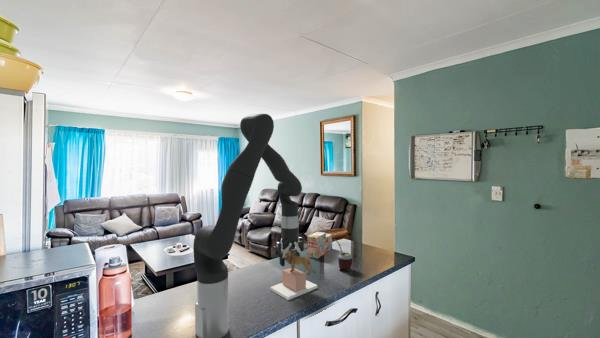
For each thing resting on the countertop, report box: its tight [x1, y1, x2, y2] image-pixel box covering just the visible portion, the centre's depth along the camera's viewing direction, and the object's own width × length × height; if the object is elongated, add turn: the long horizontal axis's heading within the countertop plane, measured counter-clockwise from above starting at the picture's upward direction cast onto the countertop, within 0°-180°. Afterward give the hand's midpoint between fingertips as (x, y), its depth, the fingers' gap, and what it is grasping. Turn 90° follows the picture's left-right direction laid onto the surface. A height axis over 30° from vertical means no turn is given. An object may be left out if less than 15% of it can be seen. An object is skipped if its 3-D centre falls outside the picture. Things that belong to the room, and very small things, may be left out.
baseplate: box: [269, 279, 318, 301], centre depth 114 cm, size 16×12×1 cm
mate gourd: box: [334, 238, 353, 274], centre depth 134 cm, size 8×8×15 cm
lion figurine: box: [284, 249, 317, 276], centre depth 114 cm, size 15×5×9 cm, turn 75°
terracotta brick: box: [281, 267, 307, 291], centre depth 114 cm, size 6×9×6 cm, turn 41°
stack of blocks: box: [306, 231, 333, 260], centre depth 161 cm, size 21×6×12 cm, turn 149°
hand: (290, 263), depth 115 cm, fingers open, 7 cm apart
